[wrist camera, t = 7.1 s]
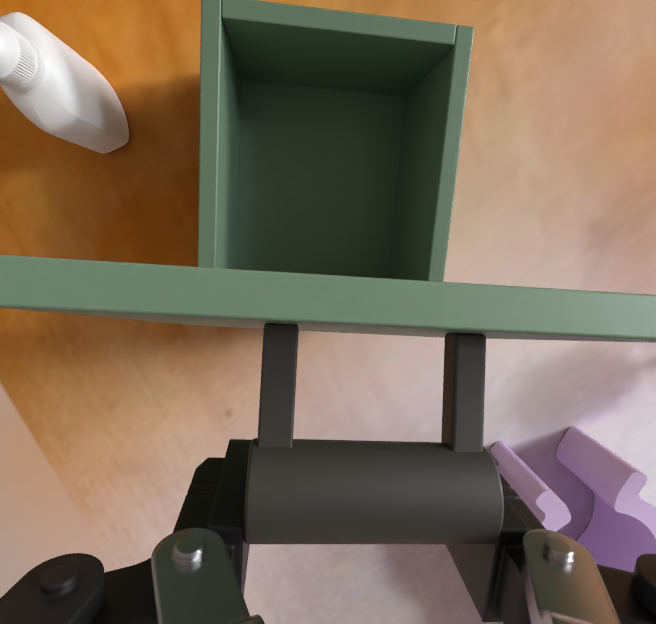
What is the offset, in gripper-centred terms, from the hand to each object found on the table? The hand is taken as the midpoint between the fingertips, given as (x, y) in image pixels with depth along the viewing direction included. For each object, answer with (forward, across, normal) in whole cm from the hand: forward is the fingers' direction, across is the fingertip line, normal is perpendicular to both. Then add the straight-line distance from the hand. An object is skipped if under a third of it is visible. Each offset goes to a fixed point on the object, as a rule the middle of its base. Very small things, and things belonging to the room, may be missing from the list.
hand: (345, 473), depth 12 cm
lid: (+4, 0, -4) cm, 5 cm away
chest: (+22, 0, -9) cm, 23 cm away
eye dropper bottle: (+22, +15, -13) cm, 29 cm away
